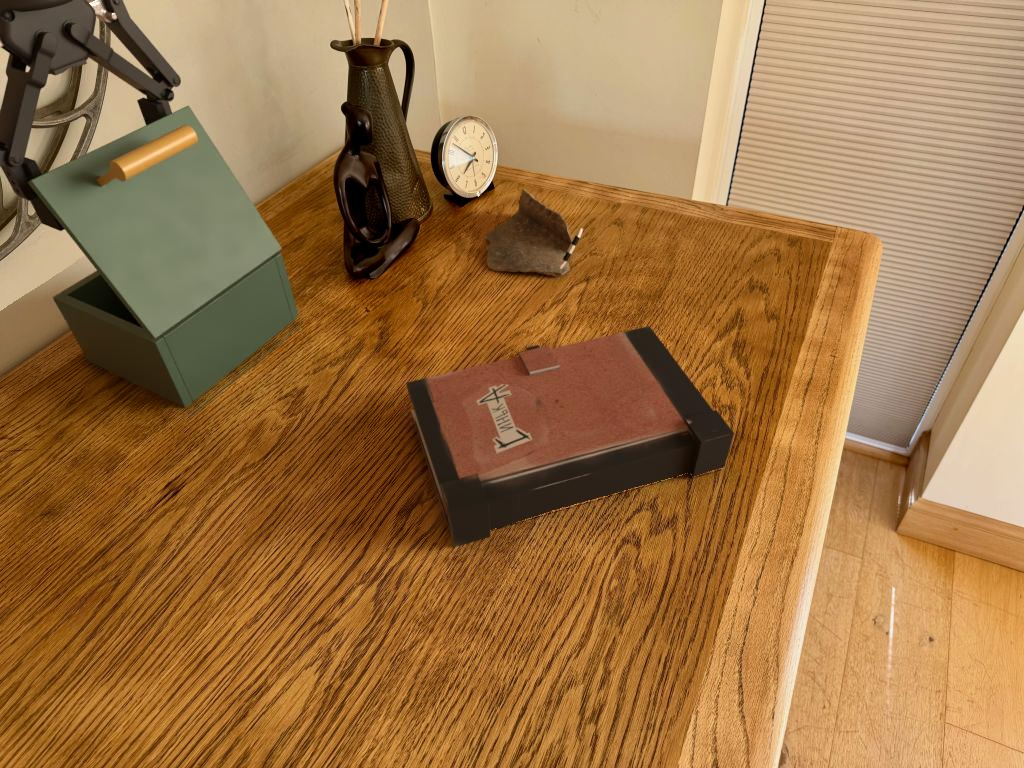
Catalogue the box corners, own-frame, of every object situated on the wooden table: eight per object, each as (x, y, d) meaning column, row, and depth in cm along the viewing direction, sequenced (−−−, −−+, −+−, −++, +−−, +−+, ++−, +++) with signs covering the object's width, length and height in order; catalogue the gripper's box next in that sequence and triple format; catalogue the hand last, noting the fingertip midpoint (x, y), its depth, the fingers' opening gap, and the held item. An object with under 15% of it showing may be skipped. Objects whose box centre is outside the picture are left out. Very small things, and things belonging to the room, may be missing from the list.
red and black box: (641, 354, 80) (646, 318, 77) (723, 469, 68) (734, 433, 64) (409, 410, 74) (404, 374, 71) (454, 547, 62) (449, 512, 59)
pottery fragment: (478, 264, 103) (457, 238, 99) (537, 209, 103) (517, 182, 99) (537, 317, 90) (515, 291, 87) (604, 255, 90) (584, 225, 86)
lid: (27, 182, 60) (52, 163, 56) (185, 107, 71) (215, 87, 67) (151, 339, 67) (181, 332, 63) (278, 249, 78) (311, 239, 74)
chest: (93, 370, 80) (51, 297, 73) (209, 289, 90) (183, 218, 83) (189, 417, 74) (155, 343, 67) (301, 325, 85) (281, 252, 78)
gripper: (-131, -6, 47) (24, 268, 61) (173, -83, 62) (238, 150, 77) (-192, -22, 49) (-30, 244, 64) (114, -92, 65) (188, 134, 80)
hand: (117, 193), depth 71 cm, fingers open, 13 cm apart
